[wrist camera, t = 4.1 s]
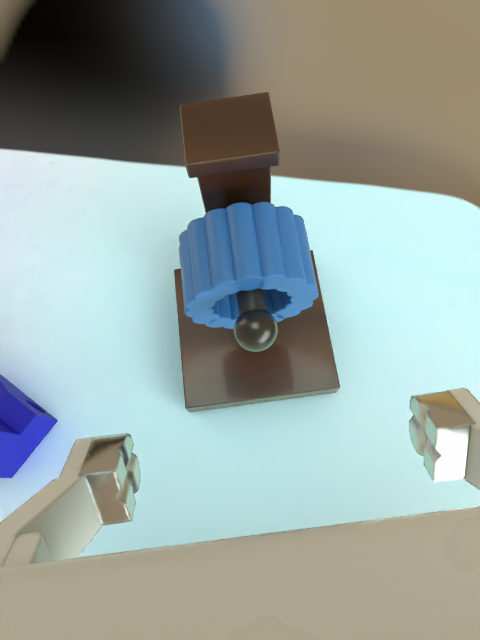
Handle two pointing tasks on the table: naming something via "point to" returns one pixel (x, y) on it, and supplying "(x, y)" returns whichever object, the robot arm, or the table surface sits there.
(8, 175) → the table surface
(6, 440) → the cable clip
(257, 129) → the hook stand
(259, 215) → the fluted cylinder
